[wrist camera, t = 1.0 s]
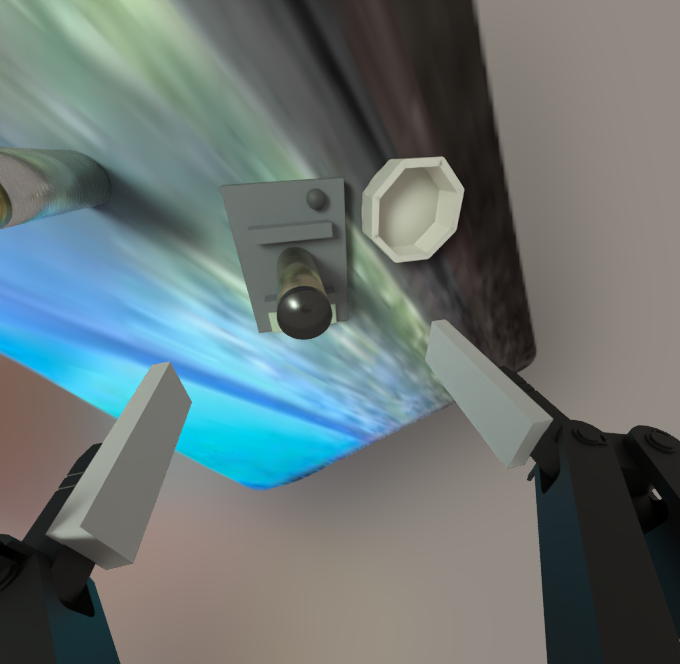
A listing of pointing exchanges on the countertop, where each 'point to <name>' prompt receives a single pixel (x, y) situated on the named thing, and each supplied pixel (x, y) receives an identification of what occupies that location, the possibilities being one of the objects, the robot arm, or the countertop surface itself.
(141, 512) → the robot arm
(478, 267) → the countertop surface
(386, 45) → the countertop surface
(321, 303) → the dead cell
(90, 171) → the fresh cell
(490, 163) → the countertop surface
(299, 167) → the countertop surface
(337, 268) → the cradle
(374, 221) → the white octagonal bowl
